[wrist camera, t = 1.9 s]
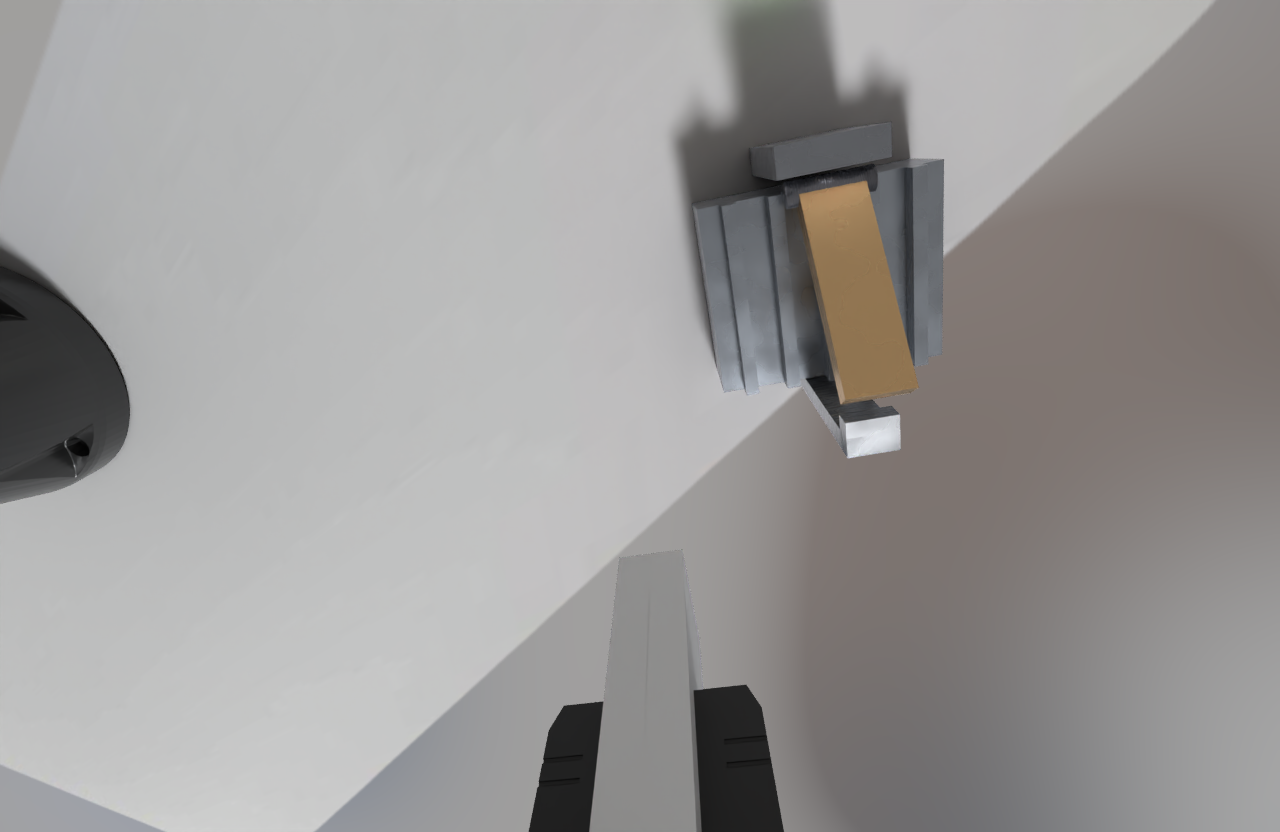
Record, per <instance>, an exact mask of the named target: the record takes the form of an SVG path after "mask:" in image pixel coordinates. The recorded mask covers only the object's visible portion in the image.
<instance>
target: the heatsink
mask: <svg viewBox="0 0 1280 832" xmlns="http://www.w3.org/2000/svg"><path fill="white" fill-rule="evenodd" d="M749 150H750V159H751V168H752V176H757V177H761V178H766V179H771V180H776V181H778V180H783V179H788V178H793V177H798V176H802V175H807V174H812V173H817V172H822V171H827V170H832V169H836V168H841V167H846V166H851V165H856V164H861V163H865V162H870V161H875V160H880V159H885V158H890V157H892V124H891V122H886V123H878V124H871V125H864V126H856V127H849V128H842V129H837V130H833V131H828V132H823V133H818V134H814V135H809V136H804V137H800V138H795V139H790V140H786V141H781V142H776V143H771V144H767V145H762V146H757V147H753V148H749ZM875 167H876V169H877V174H878V186H877V189H876V191H875V192H871V193H870V196H871V200H872V204H873V208H874V212H875V216H876V220H877V224H878V228H879V232H880V236H881V240H882V244H883V248H884V252H885V256H886V260H887V263H888V267H889V271H890V275H891V279H892V283H893V287H894V291H895V295H896V299H897V303H898V307H899V311H900V315H901V319H902V323H903V327H904V331H905V335H906V339H907V343H908V347H909V351H910V355H911V359H912V362H913V365H914V366H921V365H927V364H928V357H931V356H936V355H941V354H942V302H943V301H942V300H943V298H942V296H943V197H944V159H906V160H901V161H897V162H892V163H887V164H882V165H877V166H875ZM782 186H783V185H780V186H775V187H770V188H765V189H760V190H755V191H751V192H746V193H741V194H736V195H731V196H726V197H721V198H717V199H712V200H707V201H702V202H697V203H692V208H693V214H694V221H695V227H696V234H697V241H698V247H699V254H700V260H701V267H702V273H703V280H704V287H705V293H706V300H707V306H708V313H709V319H710V326H711V333H712V339H713V346H714V352H715V359H716V365H717V370H718V374H719V377H720V380H721V384H722V387H723V390H724V392H729V391H735V390H741V389H745V392H746V394H747V395H753V394H758V393H760V392H759V386H764V385H770V384H775V383H781V382H785V384H786V386H787V387H788V388H793V387H799V386H802V388H803V389H804V391H805V392H806V394H807V396H808V397H809V399H810V400H811V401H812V403H813V405H814V406H815V408H816V410H817V411H818V413H819V414H820V416H821V417H822V419H823V421H824V422H825V424H826V425H827V427H828V428H829V430H830V431H831V433H832V434H833V436H834V438H835V439H836V441H837V442H838V444H839V445H840V447H841V448H842V450H843V452H844V453H845V455H846V456H847V458H852V457H858V456H864V455H870V454H877V453H882V452H889V451H895V450H900V414H899V413H898V412H897V411H896V410H895V409H894V408H893V407H892V406H888V407H881V408H880V407H879V406H878V405H877V404H876V403H875V402H874V401H873V400H872V399H871V400H865V401H859V402H853V403H847V404H842V405H841V404H840V400H839V395H838V391H837V386H836V382H835V377H834V373H833V369H832V364H831V360H830V355H829V351H828V346H827V342H826V337H825V333H824V328H823V324H822V319H821V315H820V310H819V306H818V301H817V297H816V292H815V288H814V283H813V279H812V275H811V270H810V266H809V261H808V257H807V252H806V248H805V243H804V239H803V234H802V230H801V225H800V221H799V216H798V212H797V207H796V208H791V209H786V208H785V205H784V201H783V193H782Z"/></svg>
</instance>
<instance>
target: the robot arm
mask: <svg viewBox="0 0 1280 832" xmlns="http://www.w3.org/2000/svg"><path fill="white" fill-rule="evenodd" d="M129 416H130V412H129V402H128V396H127V391H126V388H125V385H124V381H123V379H122V376H121V374H120V372H119V369H118V367H117V365H116V363H115V361H114V360H113V358H112V356H111V354H110V353H109V351H108V350H107V348H106V347H105V345H104V344H103V342H102V341H101V340H100V338H99V337H98V336H97V335H96V333H95V332H94V331H93V330H92V329H91V328H90V326H89V325H88V324H87V323H86V322H85V321H84V320H83V319H82V318H81V317H80V316H79V315H78V314H77V313H76V312H75V311H74V310H73V309H71V308H70V307H69V306H68V305H67V304H65V303H64V302H63V301H62V300H60V299H59V298H58V297H56V296H55V295H54V294H52V293H51V292H49V291H48V290H46V289H45V288H43V287H41V286H40V285H38V284H36V283H35V282H33V281H31V280H29V279H27V278H25V277H23V276H21V275H19V274H17V273H15V272H12V271H10V270H7V269H5V268H2V267H0V504H1V503H6V502H10V501H15V500H19V499H23V498H28V497H32V496H36V495H41V494H45V493H50V492H53V491H57V490H59V489H62V488H65V487H67V486H70V485H72V484H74V483H76V482H77V481H79V480H81V479H83V478H85V477H86V476H88V475H90V474H92V473H93V472H95V471H97V470H99V469H100V468H102V467H103V466H105V465H106V464H107V463H109V462H110V461H111V460H112V459H113V458H114V457H115V456H116V454H117V453H118V452H119V450H120V449H121V447H122V445H123V443H124V441H125V438H126V435H127V432H128V427H129ZM543 759H544V763H543V764H542V768H541V773H540V778H539V787H538V788H537V793H536V798H535V803H534V808H533V813H532V818H531V823H530V828H529V832H784V830H783V824H782V819H781V813H780V808H779V802H778V796H777V791H776V785H775V780H774V774H773V768H772V763H771V757H770V752H769V746H768V741H767V735H766V729H765V724H764V718H763V712H762V707H761V706H760V704H759V703H758V701H757V700H756V698H755V697H754V695H753V694H752V693H751V691H750V690H749V688H748V687H747V685H740V686H730V687H721V688H711V689H703V676H702V663H701V650H700V638H699V633H698V627H697V622H696V617H695V612H694V606H693V601H692V596H691V591H690V586H689V580H688V575H687V570H686V565H685V560H684V554H683V550H682V549H681V550H674V551H667V552H659V553H651V554H644V555H636V556H629V557H622V558H619V565H618V574H617V583H616V592H615V601H614V610H613V620H612V629H611V638H610V647H609V656H608V665H607V674H606V684H605V693H604V702H595V703H587V704H577V705H567V706H564V707H563V708H562V710H561V712H560V713H559V715H558V716H557V718H556V720H555V721H554V723H553V725H552V726H551V728H550V730H549V732H548V737H547V742H546V748H545V753H544V758H543Z"/></svg>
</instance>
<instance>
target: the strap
mask: <svg viewBox="0 0 1280 832" xmlns="http://www.w3.org/2000/svg"><path fill="white" fill-rule="evenodd" d="M877 186H878V174H877V169H876V167H875V165H874V164H870V165H865V166H860V167H855V168H851V169H846V170H841V171H836V172H831V173H826V174H821V175H817V176H812V177H807V178H802V179H797V180H792V181H787V182H783V186H782V193H783V201H784V205H785V208H786V209H791V208H796V207H797V212H798V216H799V221H800V225H801V230H802V234H803V239H804V243H805V248H806V252H807V257H808V261H809V266H810V270H811V275H812V279H813V283H814V288H815V292H816V297H817V301H818V306H819V310H820V315H821V319H822V324H823V328H824V333H825V337H826V342H827V346H828V351H829V355H830V360H831V364H832V369H833V373H834V377H835V382H836V386H837V391H838V395H839V400H840V404H841V405H842V404H847V403H853V402H859V401H865V400H871V399H877V398H883V397H889V396H895V395H901V394H907V393H911V392H913V391H914V390H916V389H917V388H919V386H918V382H917V378H916V374H915V370H914V366H913V362H912V359H911V355H910V351H909V347H908V343H907V339H906V335H905V331H904V327H903V323H902V319H901V315H900V311H899V307H898V303H897V299H896V295H895V291H894V287H893V283H892V279H891V275H890V271H889V267H888V263H887V260H886V256H885V252H884V248H883V244H882V240H881V236H880V232H879V228H878V224H877V220H876V216H875V212H874V208H873V204H872V200H871V196H870V193H871V192H875V191H876V189H877Z"/></svg>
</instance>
